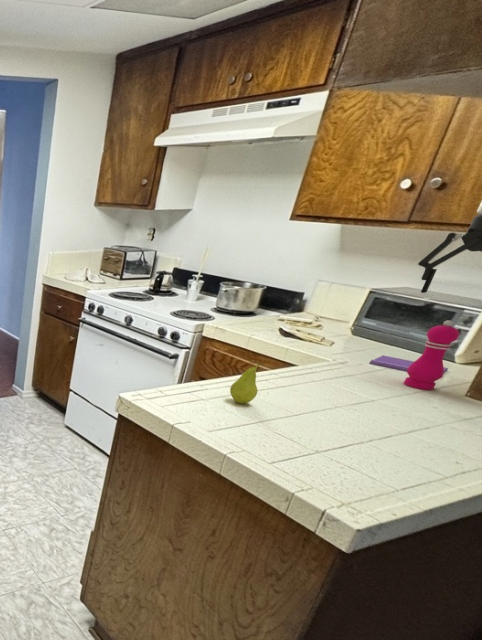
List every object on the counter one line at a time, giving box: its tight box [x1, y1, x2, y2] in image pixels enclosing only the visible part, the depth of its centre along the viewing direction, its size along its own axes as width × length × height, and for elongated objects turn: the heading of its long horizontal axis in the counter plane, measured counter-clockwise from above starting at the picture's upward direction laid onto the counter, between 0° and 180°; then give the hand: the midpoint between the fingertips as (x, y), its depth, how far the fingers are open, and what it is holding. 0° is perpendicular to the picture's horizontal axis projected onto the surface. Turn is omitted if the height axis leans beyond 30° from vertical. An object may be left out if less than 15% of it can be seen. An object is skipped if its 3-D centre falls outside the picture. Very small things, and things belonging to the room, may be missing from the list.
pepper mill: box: [403, 319, 460, 391], centre depth 136 cm, size 7×7×20 cm
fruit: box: [229, 361, 264, 405], centre depth 123 cm, size 6×6×12 cm
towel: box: [368, 354, 449, 373], centre depth 156 cm, size 16×14×1 cm
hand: (458, 296), depth 130 cm, fingers open, 13 cm apart
